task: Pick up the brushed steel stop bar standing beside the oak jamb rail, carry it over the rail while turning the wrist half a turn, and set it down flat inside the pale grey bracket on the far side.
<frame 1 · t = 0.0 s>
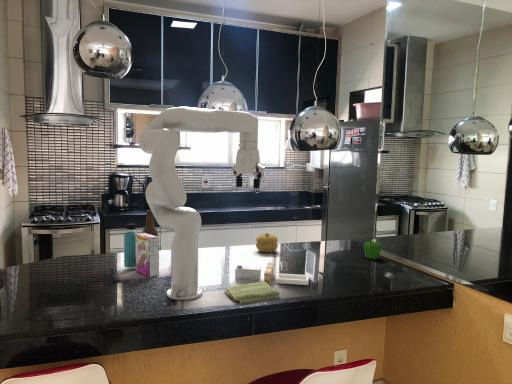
hand: (247, 187, 166), 37 cm above the countertop, tool pointing down, fingers open, 9 cm apart
washcloth: (251, 296, 146), on the countertop
candy bar box: (147, 274, 169), on the countertop
beer bottle: (150, 260, 191), on the countertop
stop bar: (247, 279, 164), on the countertop
beverage bottle: (131, 269, 175), on the countertop
jamb rail: (268, 279, 164), on the countertop
bracket: (292, 281, 163), on the countertop
bell pepper: (371, 258, 204), on the countertop
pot: (266, 252, 213), on the countertop
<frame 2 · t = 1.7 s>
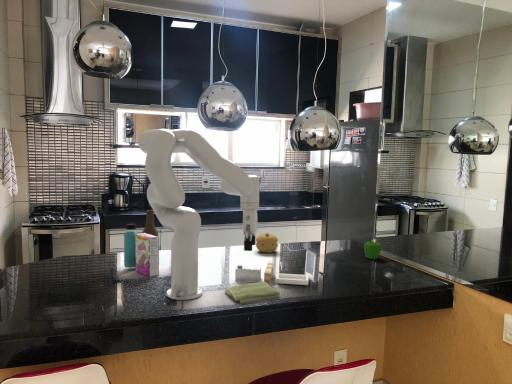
hand: (249, 247, 163), 13 cm above the countertop, tool pointing down, fingers open, 9 cm apart
nothing on the countertop moved.
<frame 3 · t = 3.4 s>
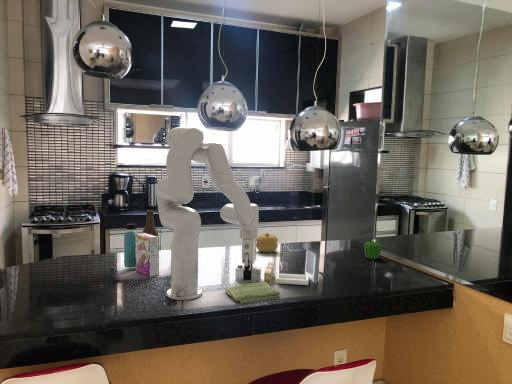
hand: (248, 277, 164), 1 cm above the countertop, tool pointing down, fingers closed on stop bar, 4 cm apart
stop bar: (248, 279, 164), on the countertop, touching gripper
everything else where it was.
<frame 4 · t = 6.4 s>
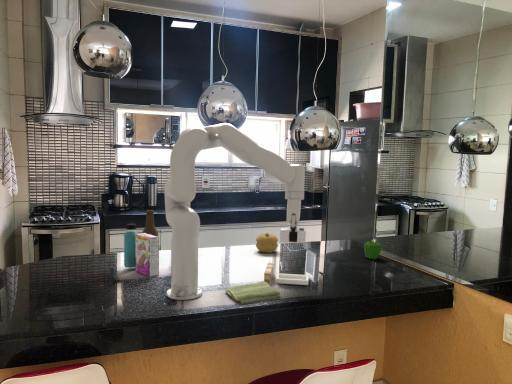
hand: (293, 240, 161), 17 cm above the countertop, tool pointing down, fingers closed on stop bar, 4 cm apart
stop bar: (292, 241, 161), point 16 cm above the countertop, touching gripper
everything else where it was.
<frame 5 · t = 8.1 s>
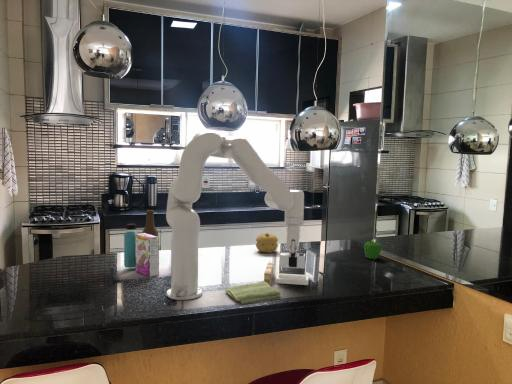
hand: (292, 264, 162), 7 cm above the countertop, tool pointing down, fingers closed on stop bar, 4 cm apart
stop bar: (292, 266, 162), point 6 cm above the countertop, touching gripper
everything else where it was.
when the fingers open (2 cm above the countertop, at t = 9.3 s): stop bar drops 1 cm, resting on bracket.
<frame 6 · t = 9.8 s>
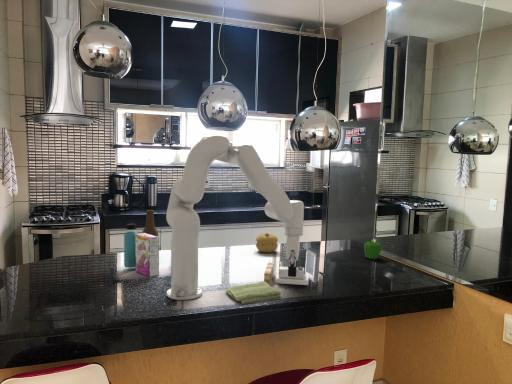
hand: (292, 272, 162), 3 cm above the countertop, tool pointing down, fingers open, 9 cm apart
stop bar: (291, 280, 163), resting on bracket
everything else where it was.
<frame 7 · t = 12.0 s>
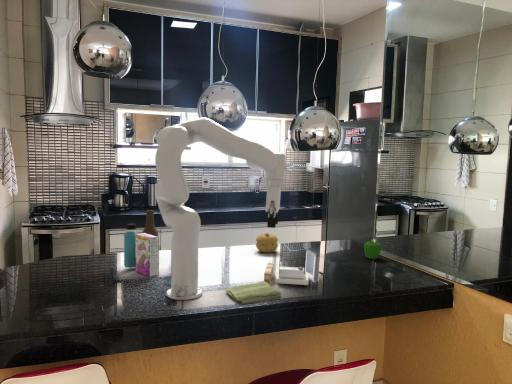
hand: (272, 225, 162), 22 cm above the countertop, tool pointing down, fingers open, 9 cm apart
nothing on the countertop moved.
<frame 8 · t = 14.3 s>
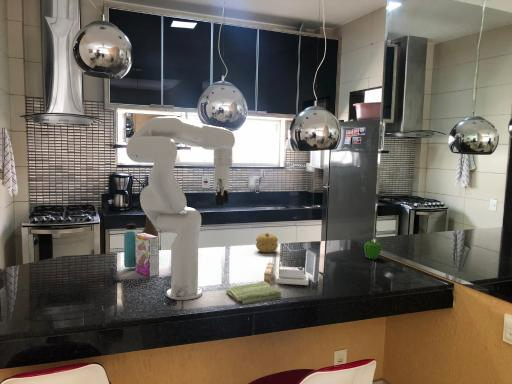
hand: (222, 203, 167), 30 cm above the countertop, tool pointing down, fingers open, 9 cm apart
nothing on the countertop moved.
at the end: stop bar inside the target area on the bracket (0.3 cm from its centre), point 0.3 cm above the bracket's base; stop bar tilted 0°; the gripper is holding nothing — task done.
